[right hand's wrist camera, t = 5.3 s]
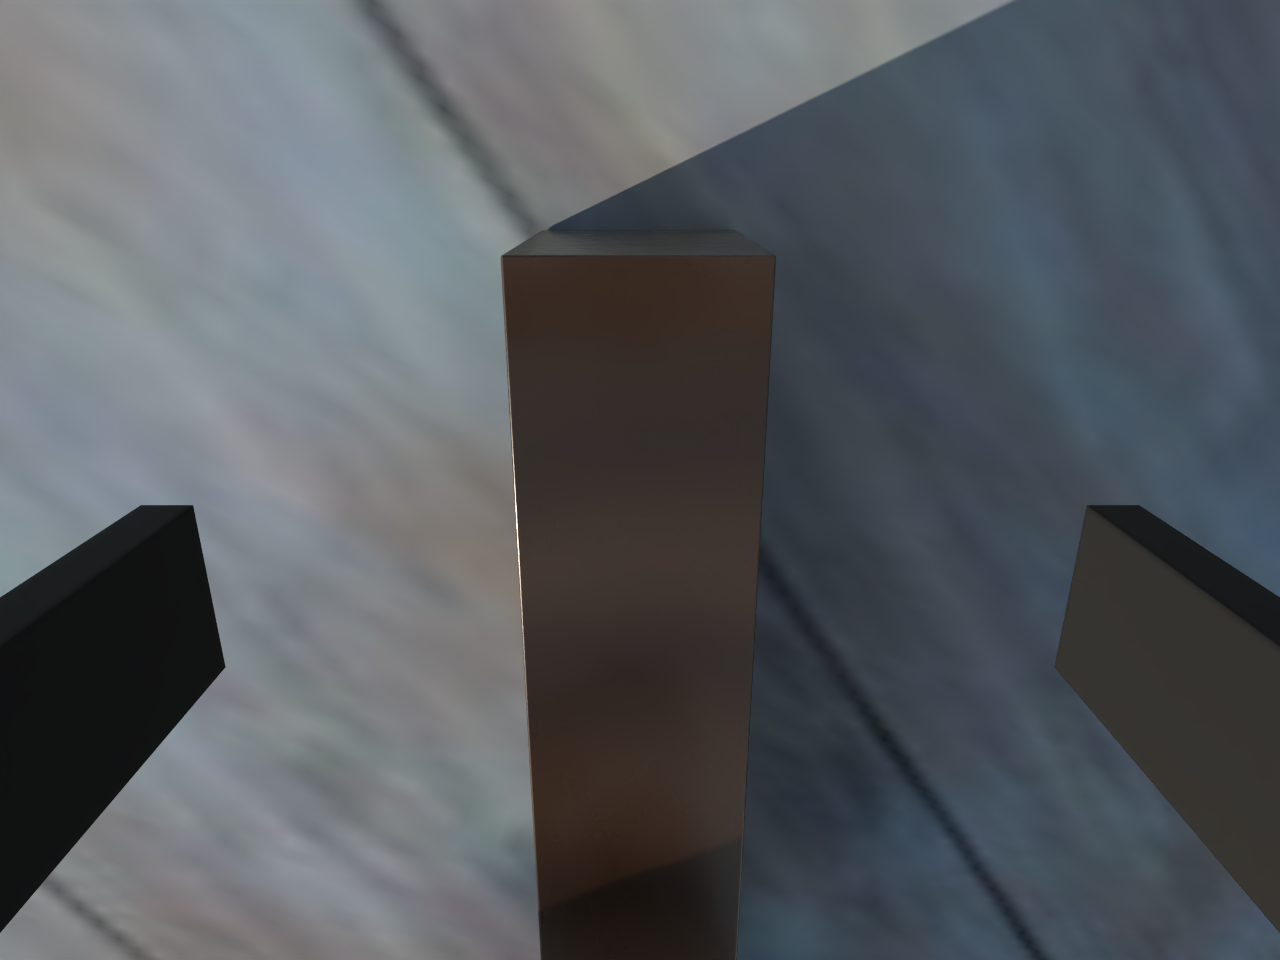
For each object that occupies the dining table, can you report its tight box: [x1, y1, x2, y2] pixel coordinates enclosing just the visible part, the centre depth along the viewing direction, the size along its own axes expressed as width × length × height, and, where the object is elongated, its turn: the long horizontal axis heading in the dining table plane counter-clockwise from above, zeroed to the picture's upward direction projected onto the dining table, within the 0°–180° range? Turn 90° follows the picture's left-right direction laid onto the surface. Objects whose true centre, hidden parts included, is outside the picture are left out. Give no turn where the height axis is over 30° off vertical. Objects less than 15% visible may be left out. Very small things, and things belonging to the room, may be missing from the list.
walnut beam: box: [501, 230, 776, 960], centre depth 28 cm, size 36×6×8 cm, turn 0°
